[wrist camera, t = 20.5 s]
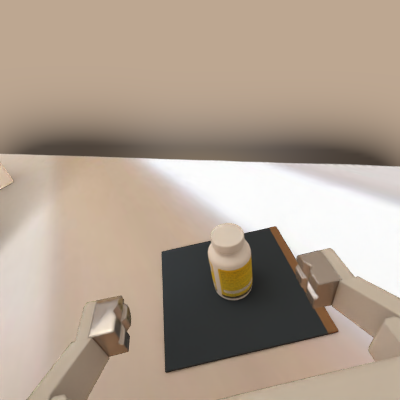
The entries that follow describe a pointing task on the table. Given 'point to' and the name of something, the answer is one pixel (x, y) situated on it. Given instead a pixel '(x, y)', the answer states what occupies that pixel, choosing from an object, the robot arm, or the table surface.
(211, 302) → the mat
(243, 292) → the supplement bottle
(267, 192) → the table surface
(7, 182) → the gable box
